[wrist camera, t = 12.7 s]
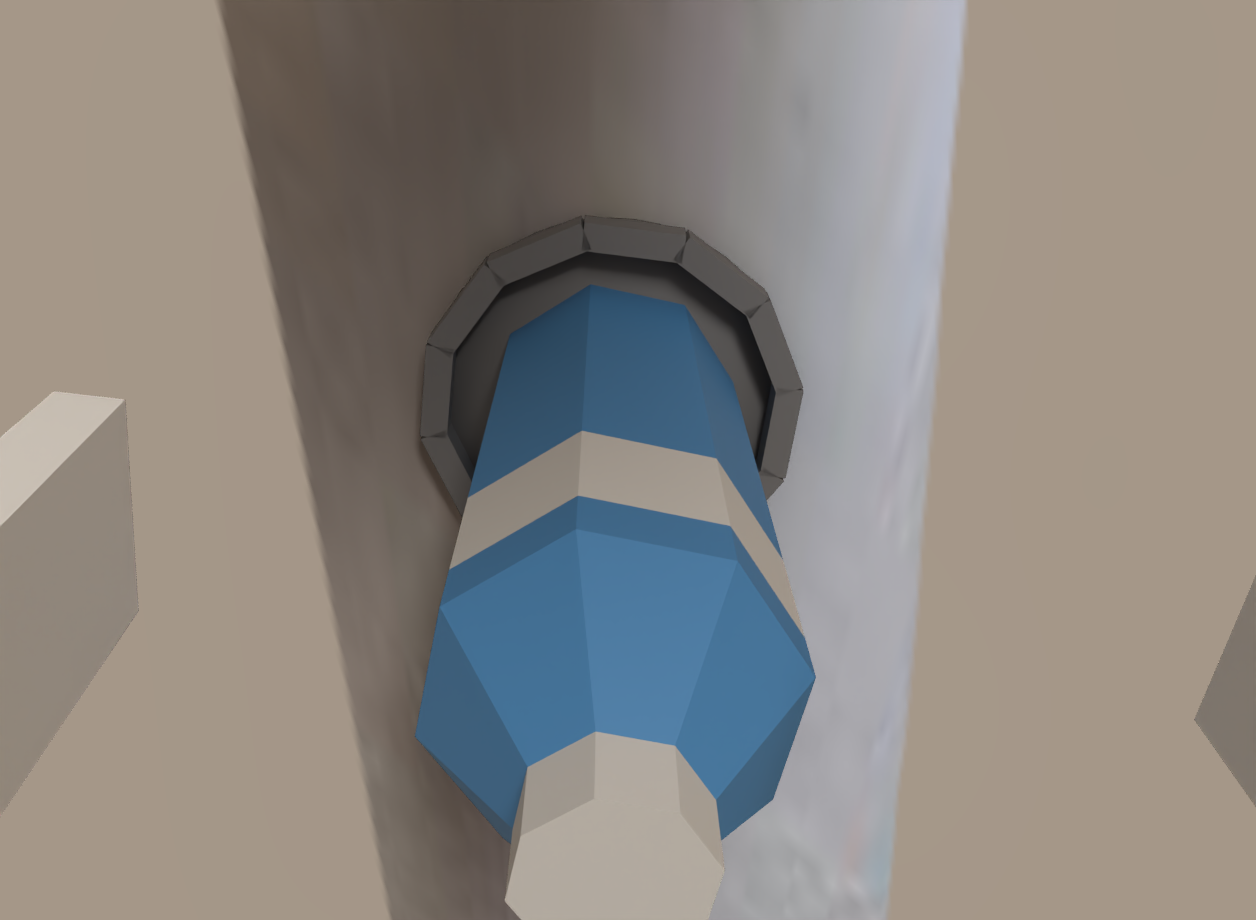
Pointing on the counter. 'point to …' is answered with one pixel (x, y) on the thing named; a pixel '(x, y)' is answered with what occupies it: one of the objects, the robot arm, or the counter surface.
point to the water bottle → (615, 619)
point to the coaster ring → (618, 260)
